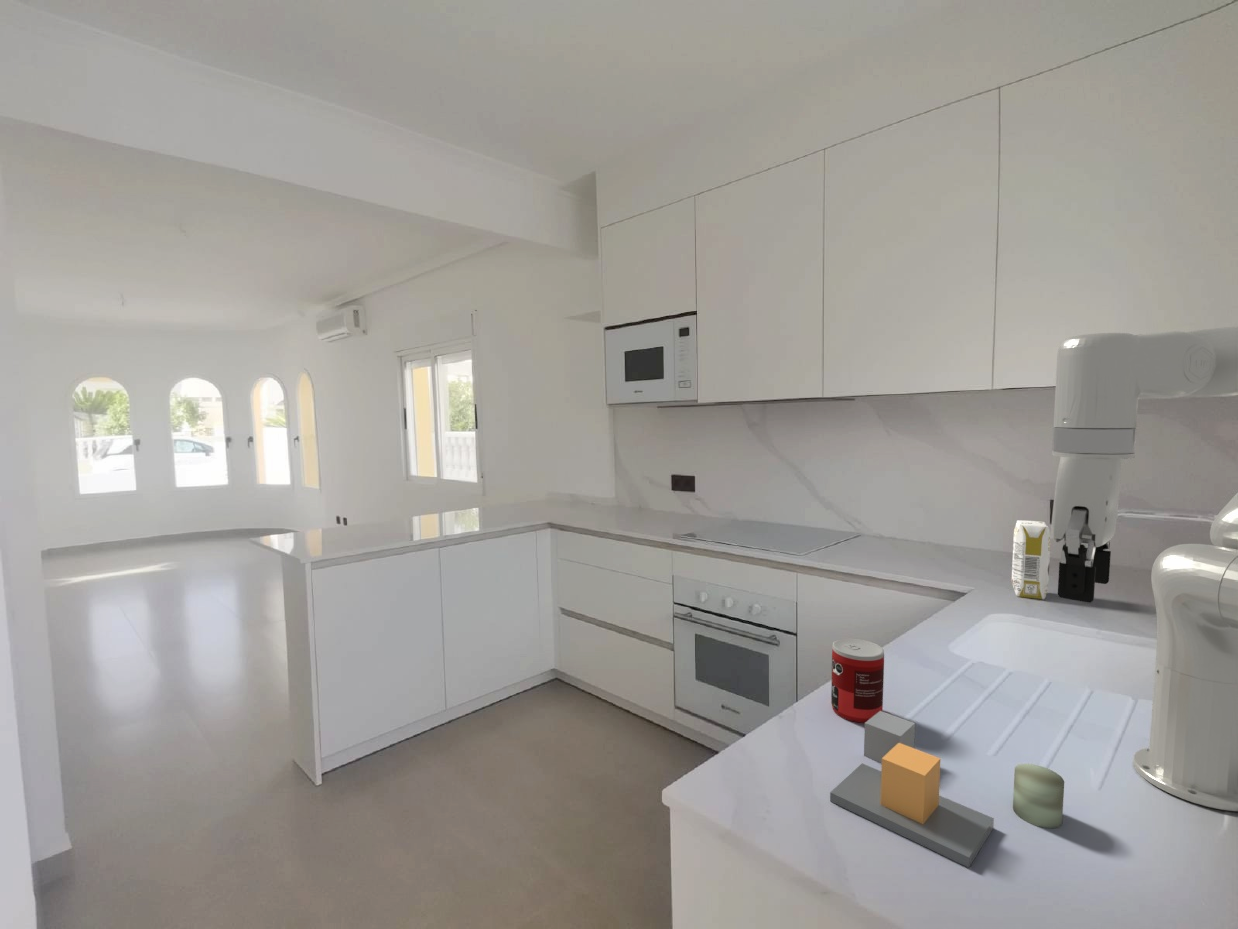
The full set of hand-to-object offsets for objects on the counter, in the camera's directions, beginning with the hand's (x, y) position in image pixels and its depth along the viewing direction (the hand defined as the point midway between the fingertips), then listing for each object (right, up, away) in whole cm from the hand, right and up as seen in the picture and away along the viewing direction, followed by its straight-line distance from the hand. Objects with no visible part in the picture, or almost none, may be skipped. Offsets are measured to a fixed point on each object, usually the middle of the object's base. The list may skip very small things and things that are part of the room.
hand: (1083, 590), depth 72 cm
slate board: (-19, -28, +4) cm, 34 cm away
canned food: (-15, -26, +29) cm, 42 cm away
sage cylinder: (-3, -28, +3) cm, 29 cm away
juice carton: (+53, -20, +89) cm, 105 cm away
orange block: (-19, -27, +4) cm, 33 cm away
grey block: (-16, -27, +16) cm, 35 cm away
